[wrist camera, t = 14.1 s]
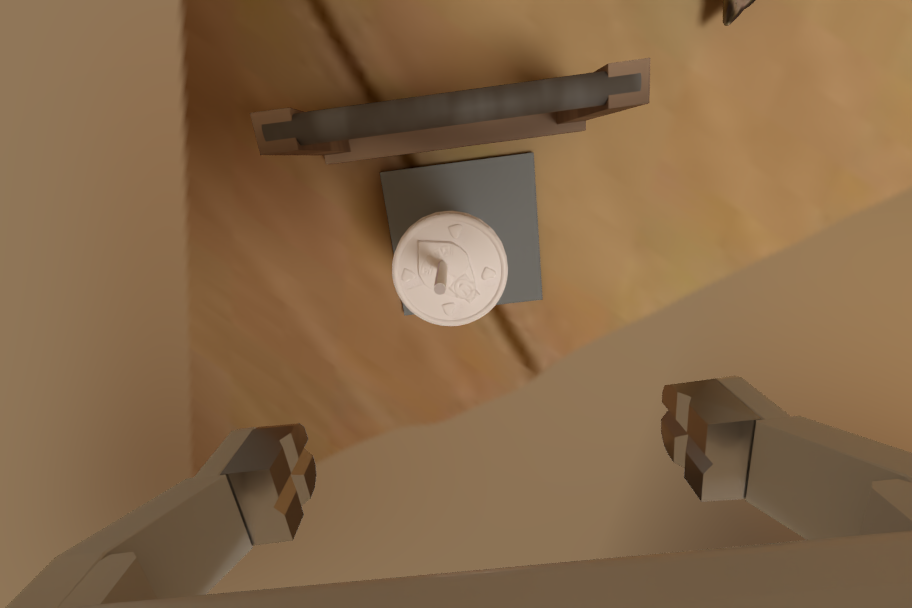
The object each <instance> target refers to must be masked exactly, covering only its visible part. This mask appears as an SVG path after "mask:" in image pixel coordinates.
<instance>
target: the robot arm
mask: <svg viewBox="0 0 912 608" xmlns="http://www.w3.org/2000/svg"><path fill="white" fill-rule="evenodd" d="M662 403H663V404H664V405H665V406H666V408H667V409H668V411H667V412H666V414H665V415H664V416H663V418H662V419H661V434H662V439H663V443H664V446H665V449H666V451H667V453H668V455H669V456H670V458H671V459H672V461H673V462H674V463H676V464H678V465H679V466H681V467H683V468H685V472H684V478H685V479H686V481H687V482H688V484H689V485H690V486H691V488H692V489H693V491H694V492H695V494H696V495H697V496H698V498H699V499H700V500H701V502H704V501H719V500H734V499H746V501H747V502H749V503H750V504H752V505H753V506H755V507H756V508H758V509H759V510H761V511H763V512H764V513H766V514H767V515H769V516H770V517H772V518H774V519H775V520H777V521H778V522H780V523H781V524H783V525H785V526H786V527H788V528H789V529H791V530H792V531H794V532H796V533H797V534H799V535H800V536H802V537H803V538H805V539H806V540H803V541H793V542H782V543H772V544H760V545H749V546H738V547H727V548H715V549H705V550H693V551H682V552H671V553H660V554H650V555H638V556H626V557H616V558H604V559H593V560H582V561H571V562H560V563H549V564H538V565H528V566H516V567H506V568H495V569H484V570H473V571H463V572H452V573H441V574H429V575H418V576H407V577H396V578H386V579H375V580H363V581H352V582H342V583H330V584H319V585H308V586H297V587H286V588H274V589H263V590H252V591H241V592H231V593H220V594H208V595H206V594H207V593H208V592H209V591H210V590H211V589H212V588H213V587H214V586H215V585H216V584H217V583H218V582H219V581H220V580H221V579H222V578H223V577H224V576H225V575H226V574H227V573H228V572H229V571H230V570H231V569H232V568H233V567H234V566H235V565H236V564H237V563H238V562H239V561H240V560H241V559H242V558H243V557H244V556H245V555H246V554H247V553H248V552H249V551H250V550H251V549H252V546H253V545H260V544H269V543H277V542H285V541H292V540H293V539H294V537H295V534H296V532H297V530H298V527H299V525H300V523H301V519H302V518H303V515H304V514H303V510H302V507H301V506H302V505H303V504H305V503H306V502H307V501H308V500H309V499H311V496H312V494H313V491H314V488H315V482H316V465H315V461H314V457H313V455H312V454H311V453H310V452H308V451H307V450H306V449H305V448H304V447H305V445H306V443H307V441H308V437H307V433H306V430H305V427H304V426H302V425H301V424H300V423H298V424H287V425H275V426H263V427H251V428H243V429H237V430H234V431H231V432H230V434H229V435H228V436H227V437H226V439H225V440H224V441H223V442H222V444H221V445H220V446H219V447H218V448H217V450H216V451H215V452H214V453H213V455H212V456H211V457H210V458H209V460H208V461H207V462H206V463H205V464H204V466H203V467H202V468H201V469H200V471H199V472H198V473H197V474H196V476H195V477H194V478H188V479H185V480H184V481H182V482H180V483H179V484H177V485H175V486H174V487H172V488H170V489H168V490H167V491H165V492H163V493H162V494H160V495H158V496H157V497H155V498H154V499H152V500H150V501H148V502H147V503H145V504H143V505H142V506H140V507H138V508H137V509H135V510H133V511H132V512H130V513H128V514H127V515H125V516H124V517H122V518H120V519H118V520H117V521H115V522H113V523H112V524H110V525H108V526H107V527H105V528H103V529H102V530H100V531H98V532H97V533H95V534H93V535H92V536H90V537H88V538H87V539H85V540H83V541H82V542H80V543H78V544H77V545H75V546H73V547H72V548H70V549H69V550H67V551H65V552H63V553H62V554H60V555H58V556H57V557H55V558H54V559H53V560H52V561H51V562H50V563H49V564H48V565H47V566H46V567H45V568H44V569H43V570H42V571H41V572H40V573H39V574H38V575H37V576H36V577H35V578H34V579H33V580H32V581H31V582H30V583H29V584H28V585H27V586H26V587H25V588H24V589H23V590H22V591H21V592H20V594H18V595H17V596H16V597H15V599H14V600H13V601H11V602H10V603H9V604H8V605H7V607H6V608H912V453H910V452H907V451H904V450H901V449H898V448H895V447H892V446H889V445H886V444H883V443H880V442H877V441H874V440H871V439H868V438H865V437H862V436H859V435H856V434H853V433H850V432H847V431H843V430H841V429H838V428H834V427H832V426H828V425H825V424H822V423H819V422H816V421H813V420H810V419H807V418H804V417H801V416H793V417H791V416H790V415H789V414H787V413H786V412H785V411H783V410H782V409H781V408H780V407H779V406H777V405H776V404H775V403H773V402H772V401H771V400H769V399H768V398H767V397H766V396H765V395H763V394H762V393H761V392H759V391H758V390H757V389H756V388H754V387H753V386H752V385H751V384H749V383H748V382H747V381H745V380H744V379H743V378H741V377H738V376H729V377H722V378H715V379H710V380H702V381H694V382H687V383H678V384H671V385H665V386H664V389H663V392H662Z"/></svg>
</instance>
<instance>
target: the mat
mask: <svg viewBox="0 0 912 608" xmlns="http://www.w3.org/2000/svg"><path fill="white" fill-rule="evenodd" d="M380 177H381V183H382V188H383V194H384V200H385V206H386V211H387V217H388V223H389V229H390V234H391V240H392V246H393V252H394V253H395V250H396V248H397V245H398V243H399V241H400V238H401V237H402V236H403V235H404V233H405V232H406V231H407V229H408V228H409V227H410V226H411V225H413V224H414V223H415V222H417V221H418V220H419V219H421V218H422V217H425V216H428V215H430V214H433V213H435V212H443V211H458V212H464V213H468V214H470V215H472V216H475V217H477V218H479V219H481V220H482V221H484V222H485V223H486V224H487V225H488V226H490V227H491V228H492V229H493V230H494V231H495V233H496V234H497V236H498V237H499V239H500V240H501V242H502V244H503V247H504V250H505V253H506V256H507V265H508V276H507V282H506V286H505V289H504V291H503V294H502V296H501V297H500V299H499V301H498V302H497V303H496V305H499V304H507V303H516V302H525V301H533V300H542V284H541V267H540V251H539V235H538V219H537V202H536V186H535V170H534V153H525V154H517V155H510V156H502V157H494V158H487V159H479V160H471V161H463V162H456V163H448V164H440V165H433V166H425V167H417V168H410V169H402V170H394V171H387V172H380ZM402 303H403V302H402ZM403 309H404V315H412V314H414V313H412V312H411V311H410V310H409V309H408V308H407V307H406V306H405V304H404V303H403Z"/></svg>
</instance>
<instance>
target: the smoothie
mask: <svg viewBox="0 0 912 608" xmlns="http://www.w3.org/2000/svg"><path fill="white" fill-rule="evenodd" d="M507 276H508V265H507V256H506V253H505V250H504V247H503V244H502V242H501V240H500V239H499V237H498V236H497V234H496V233H495V231H494V230H493V229H492V228H491V227H490V226H488V225H487V224H486V223H485V222H484V221H482V220H481V219H479V218H477V217H475V216H472V215H470V214H468V213H464V212H458V211H443V212H435V213H433V214H430V215H428V216H425V217H422V218H421V219H419V220H418V221H417V222H415V223H414V224H413V225H411V226H410V227H409V228H408V229H407V231H406V232H405V233H404V235H403V236H402V237H401V238H400V241H399V243H398V245H397V248H396V250H395V253H394V257H393V263H392V277H393V282H394V286H395V289H396V291H397V293H398V295H399V297H400V299H401V300H402V302H403V303H404V304H405V306H406V307H407V308H408V309H409V310H410V311H411V312H412V313H414V314H415V315H416V316H418V317H420V318H421V319H423V320H425V321H427V322H430V323H433V324H437V325H442V326H458V325H464V324H467V323H470V322H473V321H475V320H477V319H479V318H481V317H482V316H484V315H485V314H487V313H488V312H489V311H490V310H491V309H492V308H493V307H494V306H495V305H496V303H497V302H498V301H499V299H500V297H501V296H502V294H503V291H504V289H505V286H506V282H507Z"/></svg>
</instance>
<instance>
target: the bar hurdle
mask: <svg viewBox="0 0 912 608" xmlns="http://www.w3.org/2000/svg"><path fill="white" fill-rule="evenodd" d="M649 93H650V58H645V59H638V60H630V61H623V62H616V63H609V64H607V65H605V66H603V67H602V68H600V69H598V70H597V71H595V72H594V73H586V74H579V75H572V76H564V77H557V78H550V79H543V80H535V81H528V82H521V83H513V84H506V85H499V86H492V87H484V88H477V89H470V90H462V91H455V92H448V93H441V94H433V95H426V96H419V97H411V98H404V99H397V100H390V101H382V102H375V103H368V104H360V105H353V106H346V107H339V108H331V109H324V110H317V111H309V112H303V111H299V110H295V109H292V108H282V109H275V110H268V111H261V112H253V113H250V116H251V120H252V124H253V128H254V132H255V135H256V139H257V143H258V147H259V151H260V155H324V158H325V162H326V164H335V163H343V162H351V161H358V160H366V159H373V158H381V157H389V156H396V155H404V154H411V153H419V152H426V151H434V150H442V149H449V148H457V147H464V146H472V145H480V144H487V143H495V142H502V141H510V140H518V139H525V138H533V137H540V136H548V135H556V134H563V133H571V132H578V131H584V130H586V120H589V119H593V118H597V117H600V116H604V115H608V114H611V113H615V112H619V111H622V110H626V109H630V108H633V107H637V106H641V105H644V104H648V103H649Z"/></svg>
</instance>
